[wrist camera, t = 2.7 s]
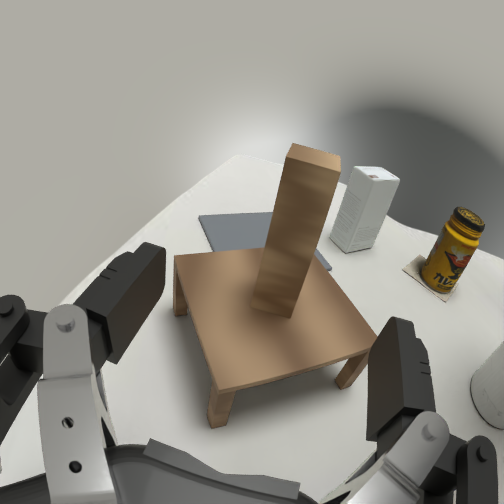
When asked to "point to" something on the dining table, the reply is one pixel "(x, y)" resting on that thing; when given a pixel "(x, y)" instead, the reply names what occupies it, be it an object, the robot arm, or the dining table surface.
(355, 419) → the dining table surface
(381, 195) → the skincare box
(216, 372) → the wooden stool with post
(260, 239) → the mat
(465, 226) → the condiment
